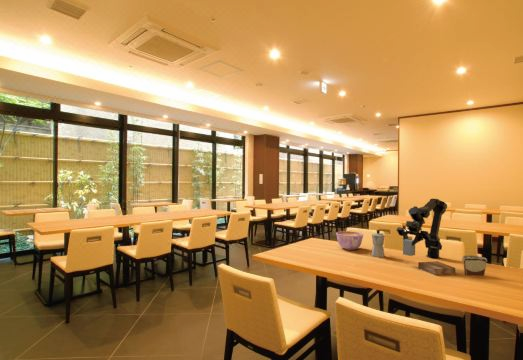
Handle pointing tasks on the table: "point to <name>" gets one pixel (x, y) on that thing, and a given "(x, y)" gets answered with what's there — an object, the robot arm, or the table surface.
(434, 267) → the walnut block
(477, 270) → the food container
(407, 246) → the slate block
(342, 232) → the bowl of food
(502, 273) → the table surface
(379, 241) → the coffee maker
